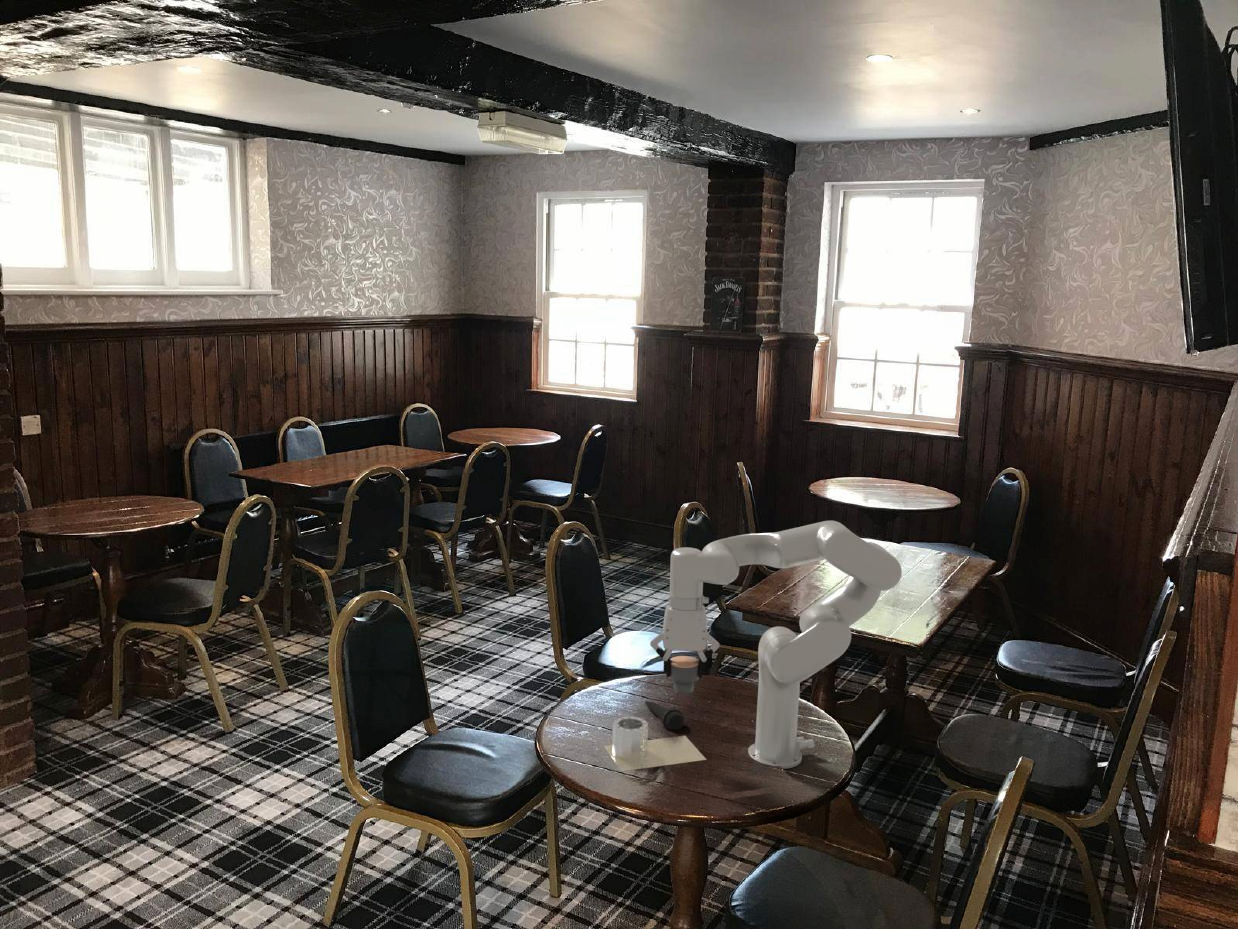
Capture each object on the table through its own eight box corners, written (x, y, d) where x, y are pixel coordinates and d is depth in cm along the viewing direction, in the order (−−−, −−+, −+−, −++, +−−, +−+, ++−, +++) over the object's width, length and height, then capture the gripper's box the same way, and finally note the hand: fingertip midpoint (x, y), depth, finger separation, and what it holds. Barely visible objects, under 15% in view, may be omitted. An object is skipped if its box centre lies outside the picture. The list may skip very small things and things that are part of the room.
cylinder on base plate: (684, 739, 242) (686, 708, 241) (706, 763, 230) (707, 731, 229) (603, 750, 235) (604, 718, 234) (621, 775, 223) (622, 742, 222)
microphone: (640, 716, 262) (671, 739, 244) (633, 696, 261) (665, 718, 243) (658, 707, 264) (690, 729, 246) (651, 688, 263) (684, 708, 245)
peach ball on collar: (691, 682, 234) (692, 654, 233) (702, 693, 228) (703, 664, 226) (664, 686, 232) (665, 657, 231) (675, 697, 225) (676, 668, 224)
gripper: (722, 597, 230) (720, 670, 233) (647, 596, 230) (646, 668, 233) (725, 608, 222) (722, 683, 225) (648, 606, 222) (646, 681, 226)
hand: (683, 675), depth 229 cm, fingers closed on peach ball on collar, 6 cm apart
